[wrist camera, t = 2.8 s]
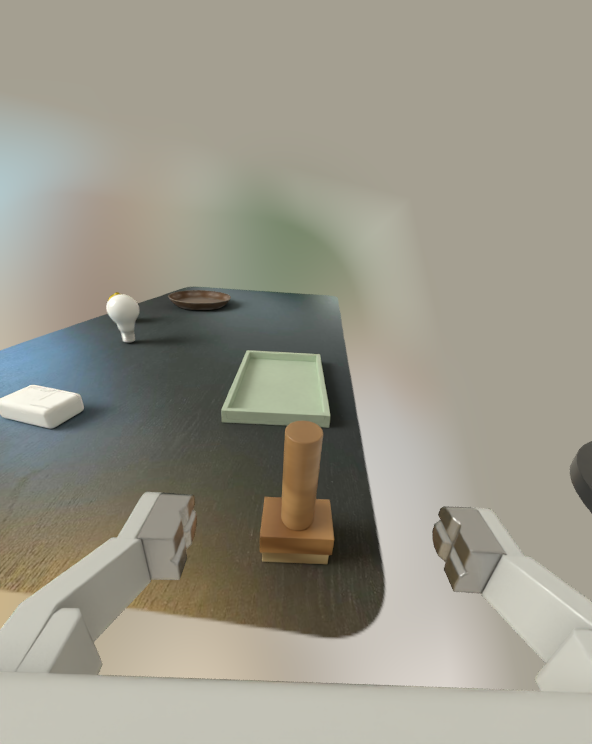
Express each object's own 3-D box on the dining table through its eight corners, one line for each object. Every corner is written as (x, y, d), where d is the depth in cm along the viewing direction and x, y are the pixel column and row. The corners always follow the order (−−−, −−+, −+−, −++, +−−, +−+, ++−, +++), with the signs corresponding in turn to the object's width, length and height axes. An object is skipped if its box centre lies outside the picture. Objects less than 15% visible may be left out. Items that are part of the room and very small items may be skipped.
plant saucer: (240, 302, 114) (240, 293, 112) (213, 315, 95) (212, 304, 94) (191, 296, 118) (190, 288, 116) (156, 308, 100) (154, 297, 98)
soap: (-1, 419, 42) (-9, 400, 40) (38, 399, 47) (32, 382, 45) (51, 431, 40) (45, 412, 39) (87, 410, 45) (82, 392, 43)
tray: (318, 363, 65) (319, 354, 65) (329, 427, 44) (330, 415, 43) (246, 359, 65) (246, 350, 64) (221, 422, 44) (221, 410, 43)
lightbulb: (131, 348, 67) (121, 298, 62) (107, 345, 68) (96, 295, 63) (150, 340, 72) (143, 293, 68) (127, 336, 74) (119, 290, 69)
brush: (326, 525, 29) (341, 417, 24) (330, 567, 26) (349, 450, 20) (264, 522, 29) (266, 413, 24) (259, 564, 26) (260, 446, 20)
